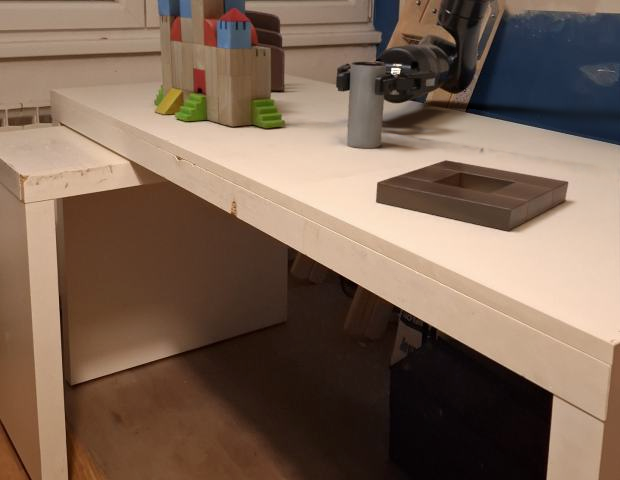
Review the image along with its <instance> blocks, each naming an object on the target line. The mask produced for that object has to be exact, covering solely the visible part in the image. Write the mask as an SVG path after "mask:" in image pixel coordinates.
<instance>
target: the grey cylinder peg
mask: <svg viewBox="0 0 620 480" xmlns="http://www.w3.org/2000/svg"><path fill="white" fill-rule="evenodd" d="M350 65H351V70H350V90H348V91H349V94H348V113H347V116H348V117H347V132H346V134H347V135H346V136H347V137H346V144H347V146H349V147H352V148H359V149H375V148H379V147H381V145H382V133H383V117H384V105H385V100H384V95H375V80H376V77H377V76H382V75H386V64H384V63H377V62H375V61H353V62H351V63H350Z"/></svg>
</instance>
